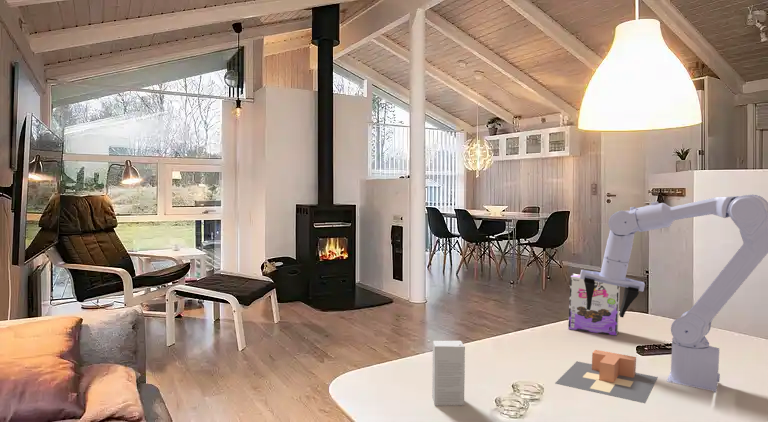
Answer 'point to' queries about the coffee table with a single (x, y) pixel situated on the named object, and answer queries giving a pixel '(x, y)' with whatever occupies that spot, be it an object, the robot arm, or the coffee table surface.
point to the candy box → (594, 307)
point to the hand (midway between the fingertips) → (604, 312)
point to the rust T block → (613, 365)
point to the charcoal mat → (608, 383)
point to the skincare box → (448, 373)
